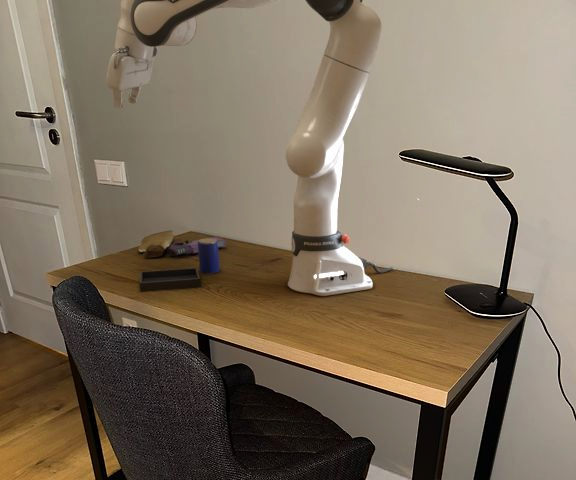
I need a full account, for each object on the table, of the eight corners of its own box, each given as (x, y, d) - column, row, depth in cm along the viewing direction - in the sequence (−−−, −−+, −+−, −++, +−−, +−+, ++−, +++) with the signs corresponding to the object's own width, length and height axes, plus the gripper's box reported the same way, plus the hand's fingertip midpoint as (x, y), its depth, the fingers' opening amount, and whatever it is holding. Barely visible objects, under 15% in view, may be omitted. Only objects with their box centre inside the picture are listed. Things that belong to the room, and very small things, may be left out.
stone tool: (173, 256, 177) (177, 237, 199) (170, 242, 175) (175, 225, 197) (136, 262, 177) (144, 243, 199) (132, 249, 175) (141, 231, 197)
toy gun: (208, 243, 194) (226, 248, 188) (158, 253, 182) (175, 259, 176) (208, 231, 193) (226, 236, 186) (156, 240, 181) (174, 246, 174)
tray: (197, 275, 162) (197, 267, 161) (201, 287, 153) (200, 278, 152) (140, 279, 159) (139, 271, 158) (140, 291, 150) (139, 283, 149)
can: (218, 268, 168) (216, 237, 164) (220, 273, 163) (218, 242, 159) (199, 269, 167) (196, 238, 163) (200, 275, 162) (198, 243, 158)
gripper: (129, 52, 132) (120, 114, 140) (160, 49, 149) (150, 104, 157) (103, 42, 132) (95, 105, 140) (137, 40, 149) (128, 96, 157)
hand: (125, 104), depth 148 cm, fingers open, 8 cm apart
